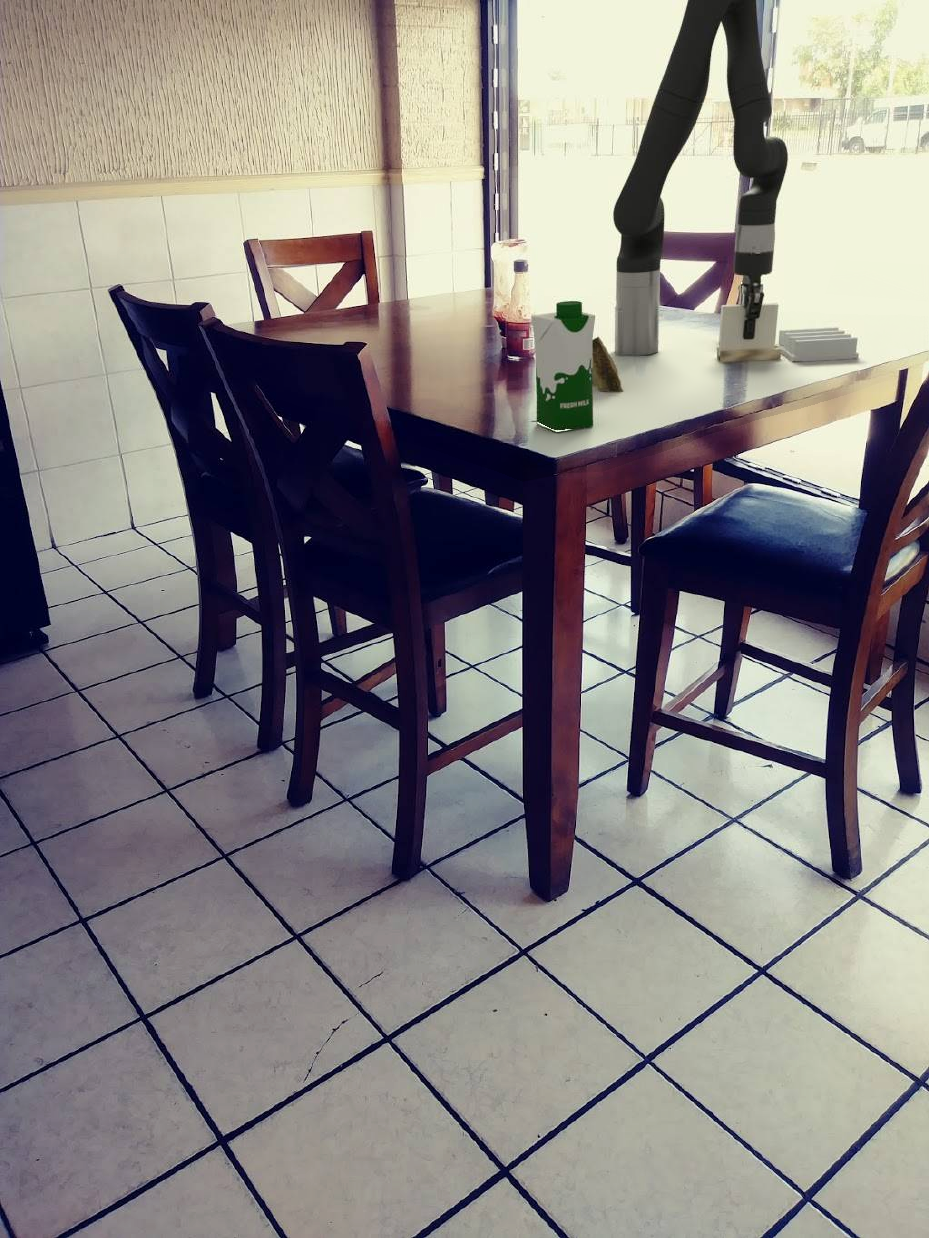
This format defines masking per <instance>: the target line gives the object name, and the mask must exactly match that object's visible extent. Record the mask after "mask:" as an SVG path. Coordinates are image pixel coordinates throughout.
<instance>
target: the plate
mask: <svg viewBox="0 0 929 1238" xmlns="http://www.w3.org/2000/svg"><path fill="white" fill-rule="evenodd" d="M720 307H721V308H720V319H719V320H720V322H719V337H718V338H719V339H718V348H719V350H718V355H719V356H720V357H721V351H735V350H753V349H772V348H775V345H776V337H777V324H778V316H779V315H778V314H779V313H778V312H779V304H778V302H769V303H762V307H761V312H760V317H759V318H758V319H757V320H756V323H755V335H754V339H747V340H745V339H744V338H743V329H744V310H745V309H744V308H743V307H742V305H739V304H721V306H720ZM751 312H754V310H751Z"/></svg>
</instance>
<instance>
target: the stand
mask: <svg viewBox="0 0 929 1238" xmlns="http://www.w3.org/2000/svg"><path fill="white" fill-rule="evenodd" d="M716 349H717V350H716V359H720V362H721V363H728V362H729V363H731V362H733V363H734V362H735V363H736V362H752V361H767V360H768V361H769V360H770V361H771V360H781V358H782V354H781V348H777V346H776V344H775V348H772V349H753V350H735V351H721V357H720V356H719V355H718V350H719V347H717V348H716Z"/></svg>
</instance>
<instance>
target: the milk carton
mask: <svg viewBox="0 0 929 1238" xmlns="http://www.w3.org/2000/svg"><path fill="white" fill-rule="evenodd" d="M555 308H556V309H555V310H556V312H547V313H541V314H533V315H530V317H531V324H532V330H533V331H532V332H533V339H534V350H535V351H534V352H535V353H534V354H535V384H536V385H535V386H536V423H537V422H539V423H541V424H543V425H545V426H547V427H549V428H551V429H554V430H565V429H577V428H582V429H587V428H586V427H588V428H592V427H591V426H593V427H594V397H593V388H594V387H593V386H594V385H593V369H592V340H593V339H594V331H595V320H596V315H595V314H592V313H587V312H584V311H583V302H582V301H578V300H568V301H566V300H565V301H561V302H560V301H559V302H556V307H555ZM584 427H585V428H584ZM577 430H578V429H577Z"/></svg>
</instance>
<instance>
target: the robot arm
mask: <svg viewBox="0 0 929 1238" xmlns="http://www.w3.org/2000/svg"><path fill="white" fill-rule="evenodd" d="M757 7H758V6H757V0H687V4H686V7H685V10H684V14H683V19H682V22H681V26H680V28H679V32H678V34H677V37H676V41H675V43H674V45H673V49H672V50H671V51H672V52H671V54H670V56H669V60H668V63H667V66H666V68H665V71H664V75H663V76H662V79H661V81H660V84H659V86H658V89H657V92H656V94H655V97H654V100H653V103H652V106H651V108H650V112H649V115H648V118H647V122H646V124H645V128H644V131H643V133H642V137H641V141H640V144H639V147H638V149H637V151H638V152H637V153H636V154H637V155H636V157H635V160H634V162H633V165H632V168H630V169H631V170H630V172H629V174H628V176H627V178H626V180H625V183H624V185H623V186H622V189H621V191H620V193H619V196H618V197H617V199H616V201H615V204H614V206H613V207H614V208H613V213H612V214H613V216H612V218H613V223H614V226H615V228H616V230H617V232H618V233H619V234H620V247H619V248H620V249H619V252H618V256H617V257H616V282H615V283H616V286H615V287H616V288H615V289H616V290H615V291H616V296H615V297H616V299H615V300H616V302H615V303H616V304H615V305H616V306H615V307H614V308H615V309H614V351H615V353H616V355H618V356H645V355H646V356H647V355H653V354H655V353H657V352H659V334H660V333H659V331H660V329H659V327H660V293H661V292H660V291H661V288H660V287H661V284H660V283H661V260H662V256H663V252H664V251H663V250H664V237H665V218H666V217H665V216H666V215H665V204H664V201H663V199H662V193H663V189H664V186H665V183H666V181H667V177H668V174H669V173H670V170H671V168H672V167H673V165H674V164H675V162H676V160H677V158H678V156H679V155H680V154H681V152H682V150H683V149H684V147H685V145H686V143H687V141H688V139H689V138H690V136H691V134H692V131H693V130H694V128H695V126H696V123H697V120H698V119H699V115H700V113H701V110H702V108H703V105H704V102H705V99H706V96H707V93H708V90H709V89H708V88H709V82H710V72H711V61H712V52H713V46H714V43H715V40H716V35H717V33H718V30H719V28H720V26H721V24H722V27H723V32H724V34H725V39H726V40H725V42H726V48H727V49H726V50H727V55H726V56H727V57H726V58H727V59H726V62H727V64H726V85H727V93H728V99H729V104H730V108H731V113H732V117H733V120H734V121H733V143H732V144H733V148H732V149H733V150H732V154H733V160H734V161H733V162H734V164H735V167H736V169H737V170H738V172H739V173H740V175H742V177H744V178H747V179H752V182H751V184H750V185H751V186H750V189H749V190H748V191H746V192H745V193H743V194H742V195H741V197H740V199H739V204H738V205H739V206H738V214H737V215H738V218H737V229H736V234H735V240H734V241H735V242H734V254H733V269H732V271H733V272H732V273H733V274H734V275H736V276H737V275H738V276H741V277H742V281H741V283H739V285H738V288H737V289H738V305H742V307H743V308H744V309H745V310H744V329H743V338H744V339H745V340H747V339H754V335H755V323H756V320H757V319H758V318H759V317H760V312H761V307H762V304H764V303H763V302H764V297H765V292H764V284H763V283H762V276H764V275H770V274H771V273H772V272H773V264H774V263H773V262H774V254H775V253H774V251H775V240H776V230H775V229H776V215H777V202H778V201H777V200H778V197H779V196H780V195H779V194H780V192H781V190H782V185H783V182H784V180H785V176H786V172H787V167H788V163H789V162H788V161H789V157H788V155H789V154H788V148H787V145H786V143H785V142H784V140H783V139H781V137H779V136H772V135H771V136H765V133H764V131H765V129H764V128H765V126H764V125H765V124H764V123H766V122H767V121H768V120H769V119H770V118H771V116H772V113H773V112H772V110H773V109H772V103H771V102H772V101H771V97H770V92H769V87H768V82H767V78H766V72H765V68H764V63H763V62H764V61H763V58H762V56H763V55H762V49H761V44H760V43H761V42H760V36H759V35H760V34H759V25H758V23H759V22H758V12H757V10H758V8H757ZM751 310H754V312H751Z"/></svg>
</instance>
